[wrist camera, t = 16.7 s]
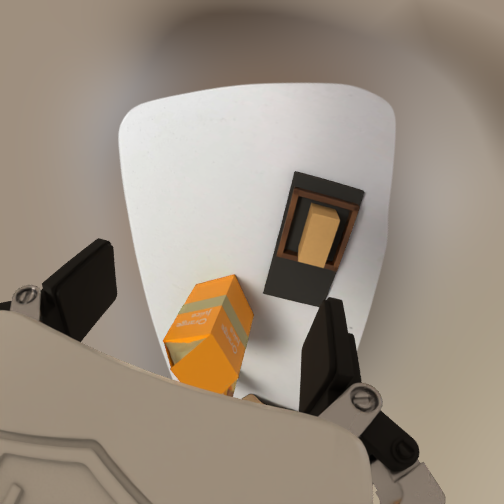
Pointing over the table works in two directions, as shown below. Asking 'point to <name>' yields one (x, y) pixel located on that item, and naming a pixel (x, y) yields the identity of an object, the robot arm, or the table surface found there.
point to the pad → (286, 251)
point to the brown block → (318, 235)
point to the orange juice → (210, 335)
